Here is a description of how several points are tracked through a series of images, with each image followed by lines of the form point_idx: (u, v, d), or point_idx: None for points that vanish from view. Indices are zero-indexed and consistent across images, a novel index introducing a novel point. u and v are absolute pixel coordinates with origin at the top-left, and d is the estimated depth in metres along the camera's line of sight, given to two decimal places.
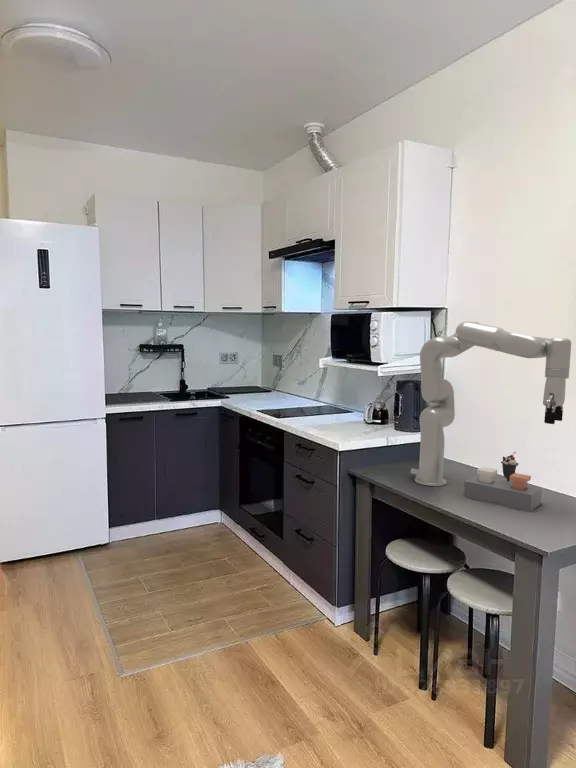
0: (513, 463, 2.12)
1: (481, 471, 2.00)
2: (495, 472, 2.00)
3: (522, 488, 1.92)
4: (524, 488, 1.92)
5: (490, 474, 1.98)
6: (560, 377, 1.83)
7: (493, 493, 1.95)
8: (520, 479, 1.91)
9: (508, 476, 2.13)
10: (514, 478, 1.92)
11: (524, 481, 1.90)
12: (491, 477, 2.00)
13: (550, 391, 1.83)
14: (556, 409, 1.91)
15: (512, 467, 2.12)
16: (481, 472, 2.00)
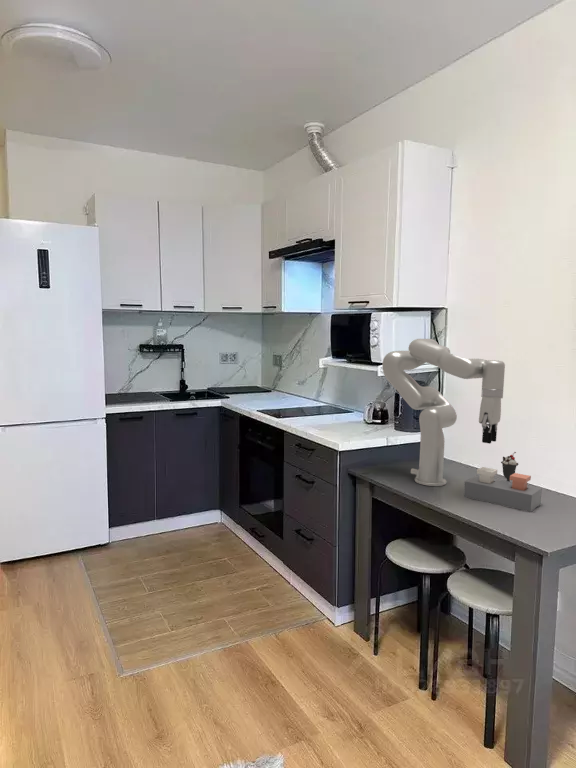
0: (513, 463, 2.12)
1: (481, 471, 2.00)
2: (495, 472, 2.00)
3: (522, 488, 1.92)
4: (524, 488, 1.92)
5: (490, 474, 1.98)
6: (494, 397, 1.95)
7: (493, 493, 1.95)
8: (520, 479, 1.91)
9: (508, 476, 2.13)
10: (514, 478, 1.92)
11: (524, 481, 1.90)
12: (491, 477, 2.00)
13: (485, 410, 1.96)
14: (490, 430, 2.02)
15: (512, 467, 2.12)
16: (481, 472, 2.00)
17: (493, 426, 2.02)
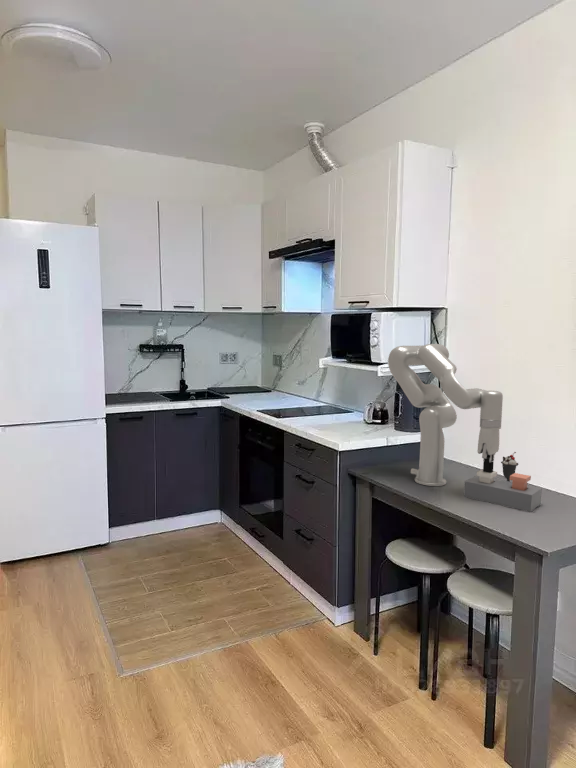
0: (513, 463, 2.12)
1: (481, 473, 2.00)
2: (495, 474, 2.00)
3: (522, 488, 1.92)
4: (524, 488, 1.92)
5: (490, 476, 1.98)
6: (492, 428, 1.96)
7: (493, 493, 1.95)
8: (520, 479, 1.91)
9: (508, 476, 2.13)
10: (514, 478, 1.92)
11: (524, 481, 1.90)
12: (491, 479, 2.00)
13: (483, 441, 1.97)
14: None
15: (512, 467, 2.12)
16: (481, 474, 2.00)
17: None
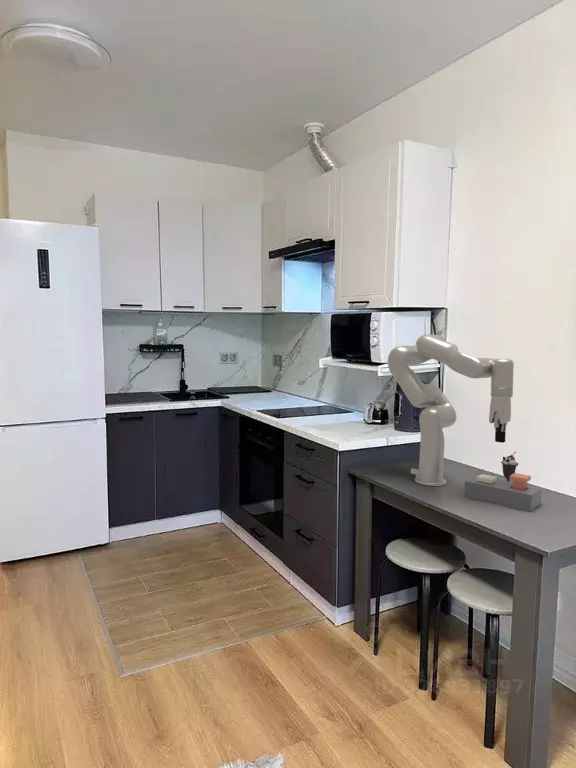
0: (513, 463, 2.12)
1: (481, 478, 2.00)
2: (495, 479, 2.01)
3: (522, 488, 1.92)
4: (524, 488, 1.92)
5: (490, 481, 1.98)
6: (504, 396, 1.93)
7: (493, 493, 1.95)
8: (520, 479, 1.91)
9: (508, 476, 2.13)
10: (514, 478, 1.92)
11: (524, 481, 1.90)
12: None
13: (495, 409, 1.93)
14: None
15: (512, 467, 2.12)
16: (481, 479, 2.00)
17: None
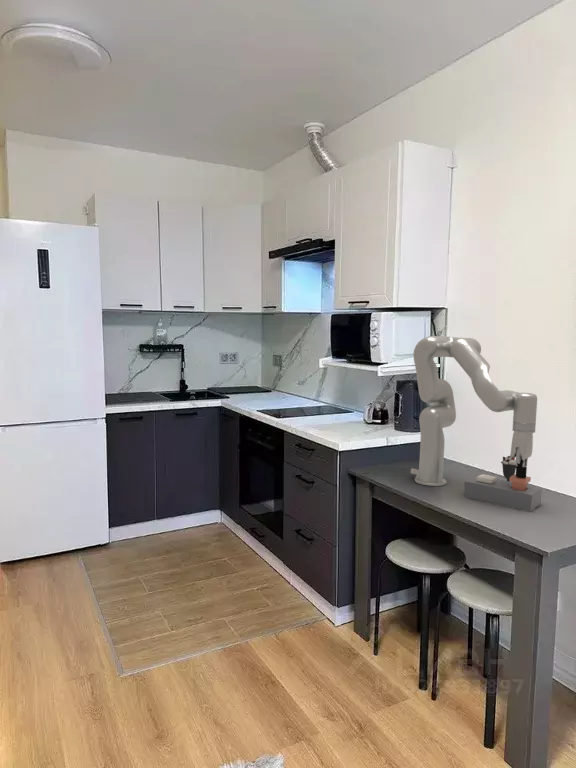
0: (513, 463, 2.12)
1: (481, 478, 2.00)
2: (495, 479, 2.01)
3: (522, 489, 1.92)
4: (524, 489, 1.92)
5: (490, 481, 1.98)
6: (526, 432, 1.88)
7: (493, 493, 1.95)
8: (520, 480, 1.91)
9: (508, 476, 2.13)
10: (514, 479, 1.92)
11: (524, 482, 1.90)
12: None
13: (517, 445, 1.89)
14: None
15: (512, 467, 2.12)
16: (481, 479, 2.00)
17: (523, 461, 1.94)
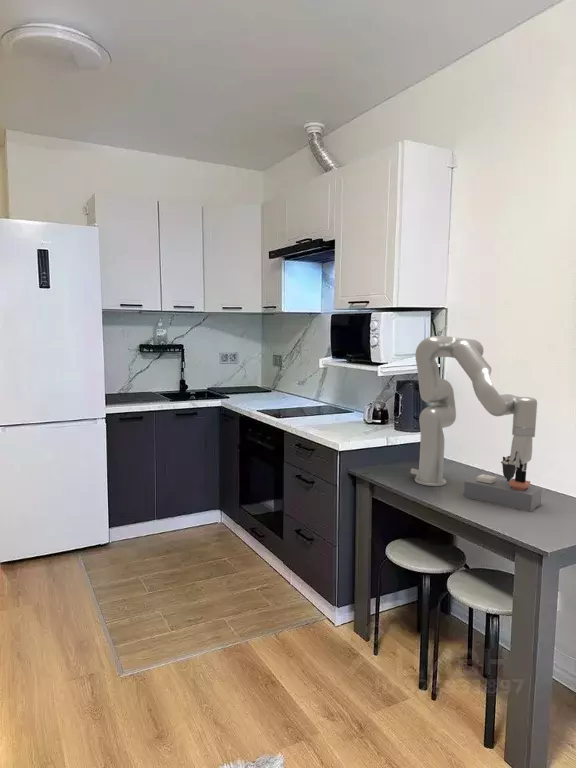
0: (513, 463, 2.12)
1: (481, 478, 2.00)
2: (495, 479, 2.01)
3: None
4: None
5: (490, 481, 1.98)
6: (526, 436, 1.88)
7: (493, 493, 1.95)
8: (520, 485, 1.91)
9: (508, 476, 2.13)
10: (514, 483, 1.93)
11: (524, 487, 1.90)
12: None
13: (516, 449, 1.89)
14: None
15: (512, 467, 2.12)
16: (481, 479, 2.00)
17: None
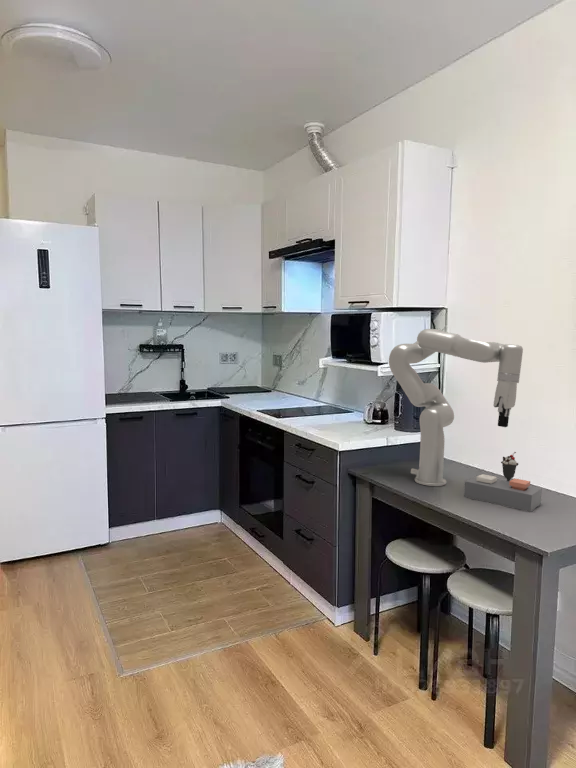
0: (513, 463, 2.12)
1: (481, 478, 2.00)
2: (495, 479, 2.01)
3: None
4: None
5: (490, 481, 1.98)
6: (510, 381, 1.94)
7: (493, 493, 1.95)
8: (520, 485, 1.91)
9: (508, 476, 2.13)
10: (514, 483, 1.93)
11: (524, 487, 1.90)
12: None
13: (500, 394, 1.95)
14: None
15: (512, 467, 2.12)
16: (481, 479, 2.00)
17: None
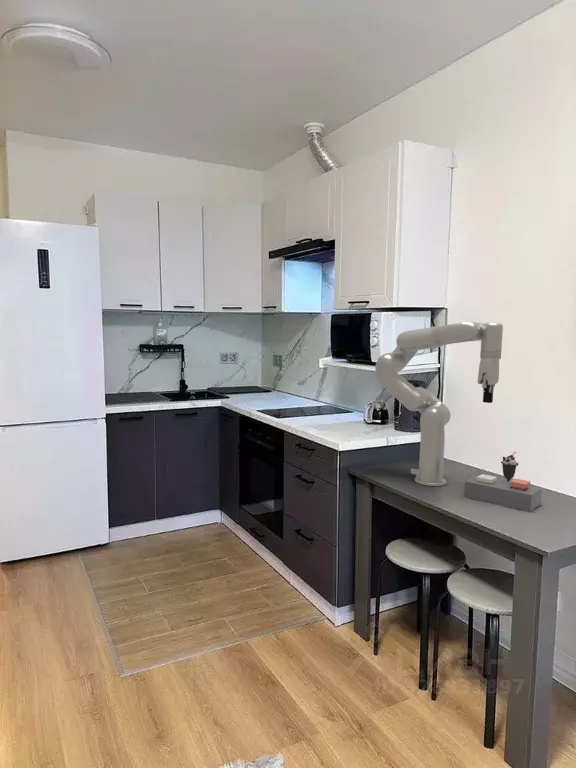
0: (513, 463, 2.12)
1: (481, 478, 2.00)
2: (495, 479, 2.01)
3: None
4: None
5: (490, 481, 1.98)
6: (492, 358, 2.01)
7: (493, 493, 1.95)
8: (520, 485, 1.91)
9: (508, 476, 2.13)
10: (514, 483, 1.93)
11: (524, 487, 1.90)
12: None
13: (483, 371, 2.02)
14: None
15: (512, 467, 2.12)
16: (481, 479, 2.00)
17: None
